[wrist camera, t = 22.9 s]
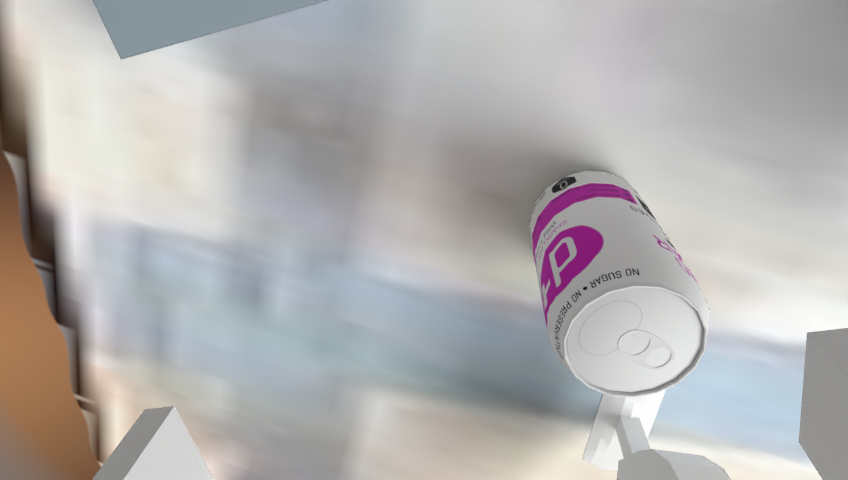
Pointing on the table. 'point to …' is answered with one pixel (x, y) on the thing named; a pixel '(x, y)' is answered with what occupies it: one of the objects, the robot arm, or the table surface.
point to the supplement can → (615, 288)
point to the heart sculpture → (640, 444)
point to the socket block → (180, 19)
